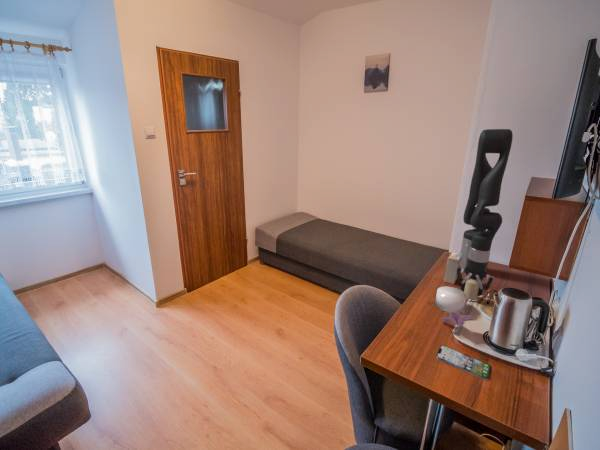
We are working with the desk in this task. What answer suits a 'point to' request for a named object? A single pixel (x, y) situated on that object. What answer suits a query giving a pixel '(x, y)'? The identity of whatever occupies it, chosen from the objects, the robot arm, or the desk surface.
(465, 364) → the smartphone
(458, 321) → the lily
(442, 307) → the glossy white dome
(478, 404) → the desk surface
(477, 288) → the candle
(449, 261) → the supplement box
